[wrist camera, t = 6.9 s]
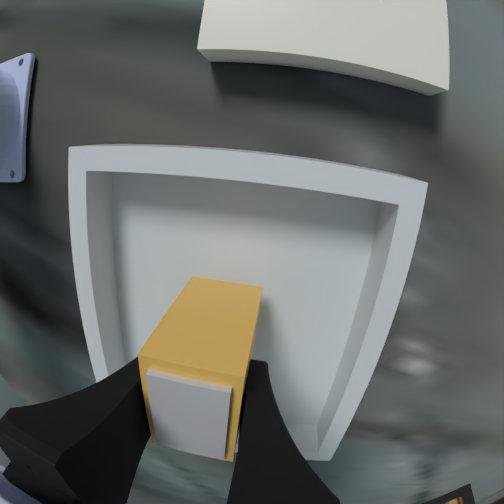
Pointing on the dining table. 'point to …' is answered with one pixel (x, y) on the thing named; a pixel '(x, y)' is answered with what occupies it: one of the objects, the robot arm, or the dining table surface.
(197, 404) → the block
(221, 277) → the parts tray
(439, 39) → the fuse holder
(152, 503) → the dining table surface
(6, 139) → the robot arm
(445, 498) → the ammunition clip
